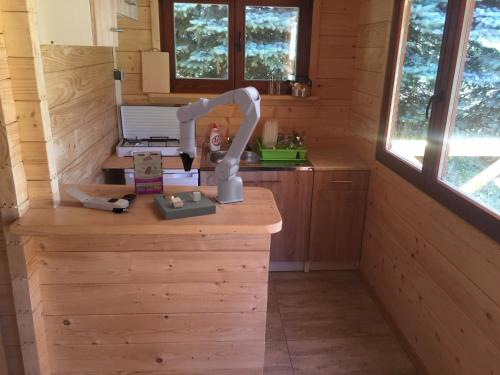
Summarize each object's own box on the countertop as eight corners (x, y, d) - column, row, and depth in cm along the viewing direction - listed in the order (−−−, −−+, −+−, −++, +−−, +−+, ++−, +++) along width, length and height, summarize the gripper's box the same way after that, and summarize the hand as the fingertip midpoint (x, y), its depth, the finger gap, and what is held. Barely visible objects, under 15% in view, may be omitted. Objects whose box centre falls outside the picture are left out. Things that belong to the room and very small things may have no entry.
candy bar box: (162, 189, 173) (161, 150, 168) (163, 193, 169) (162, 153, 164) (134, 190, 170) (132, 151, 165) (134, 194, 166) (132, 154, 161)
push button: (173, 201, 159) (173, 193, 158) (175, 204, 156) (175, 196, 155) (163, 202, 157) (163, 194, 156) (166, 205, 154) (166, 197, 153)
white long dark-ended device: (72, 185, 156) (134, 192, 151) (74, 200, 158) (135, 207, 153) (62, 190, 151) (125, 197, 146) (64, 206, 153) (126, 213, 147)
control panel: (199, 197, 166) (199, 185, 164) (215, 213, 150) (215, 200, 149) (153, 202, 158) (153, 190, 157) (166, 220, 143) (165, 206, 141)
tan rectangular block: (199, 199, 154) (199, 191, 153) (200, 200, 152) (200, 192, 151) (192, 199, 153) (192, 192, 152) (194, 201, 151) (194, 193, 150)
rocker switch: (179, 199, 150) (179, 196, 149) (183, 206, 146) (183, 203, 145) (170, 200, 148) (170, 197, 148) (174, 207, 144) (174, 204, 144)
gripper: (171, 134, 167) (172, 167, 171) (182, 141, 154) (182, 177, 159) (189, 133, 170) (189, 165, 174) (200, 140, 157) (200, 175, 162)
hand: (187, 171), depth 166 cm, fingers closed
